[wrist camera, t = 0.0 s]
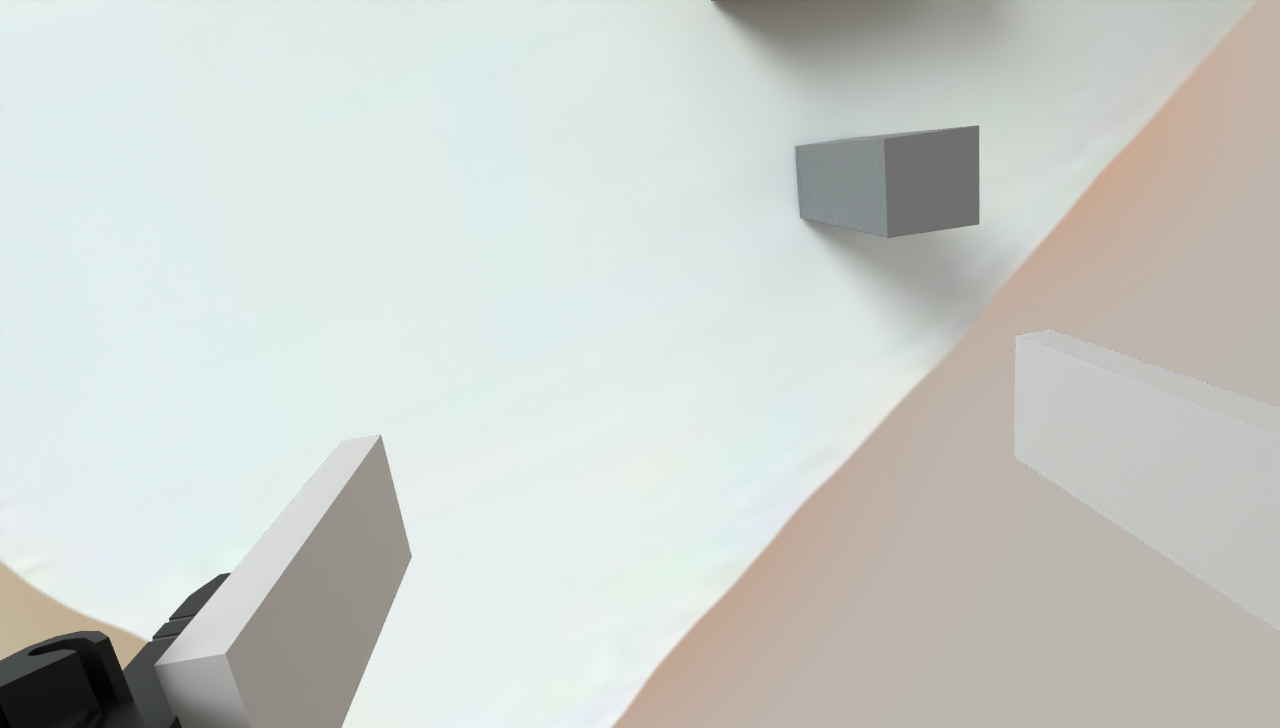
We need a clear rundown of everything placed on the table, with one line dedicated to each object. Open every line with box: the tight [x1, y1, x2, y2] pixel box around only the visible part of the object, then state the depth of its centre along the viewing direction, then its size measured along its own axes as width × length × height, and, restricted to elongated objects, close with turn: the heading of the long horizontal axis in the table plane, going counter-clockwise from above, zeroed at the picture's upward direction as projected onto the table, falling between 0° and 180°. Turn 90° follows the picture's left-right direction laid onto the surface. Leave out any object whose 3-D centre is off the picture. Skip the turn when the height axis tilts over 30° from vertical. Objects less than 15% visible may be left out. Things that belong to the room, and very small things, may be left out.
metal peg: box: [795, 126, 979, 238], centre depth 35 cm, size 4×4×12 cm
